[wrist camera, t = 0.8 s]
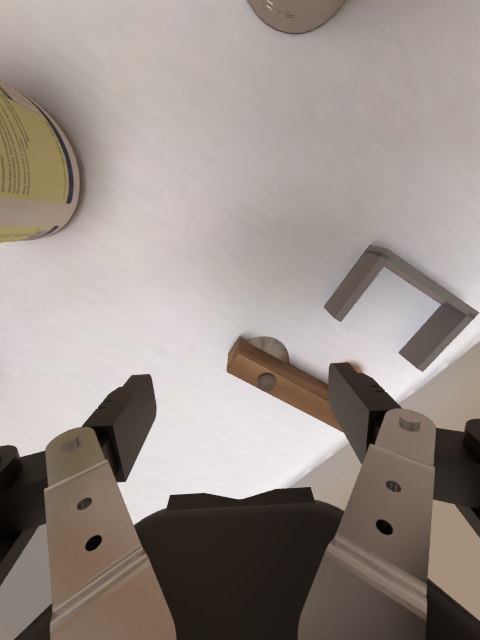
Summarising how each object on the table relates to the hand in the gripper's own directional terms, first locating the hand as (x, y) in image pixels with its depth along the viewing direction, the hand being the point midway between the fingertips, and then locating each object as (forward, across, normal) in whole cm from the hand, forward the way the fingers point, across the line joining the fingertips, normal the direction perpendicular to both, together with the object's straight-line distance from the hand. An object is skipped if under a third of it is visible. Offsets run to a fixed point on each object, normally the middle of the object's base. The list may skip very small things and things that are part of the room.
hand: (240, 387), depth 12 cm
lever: (+18, -5, +9) cm, 21 cm away
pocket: (+18, -16, +2) cm, 24 cm away
